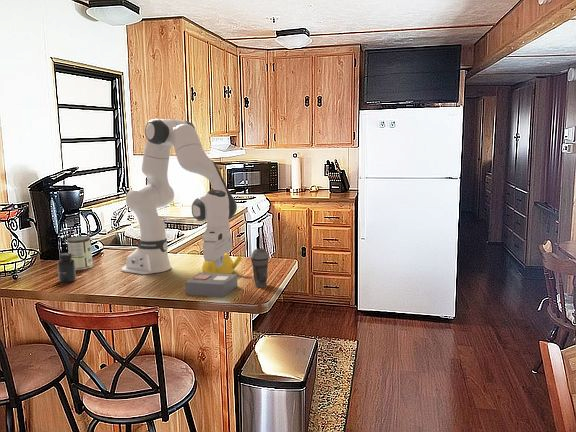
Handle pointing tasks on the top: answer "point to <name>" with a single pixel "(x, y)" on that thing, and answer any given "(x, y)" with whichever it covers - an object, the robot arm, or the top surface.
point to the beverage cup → (260, 266)
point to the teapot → (225, 269)
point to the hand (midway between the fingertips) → (219, 266)
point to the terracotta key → (202, 277)
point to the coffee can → (80, 251)
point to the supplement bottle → (66, 268)
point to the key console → (211, 285)
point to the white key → (220, 278)
